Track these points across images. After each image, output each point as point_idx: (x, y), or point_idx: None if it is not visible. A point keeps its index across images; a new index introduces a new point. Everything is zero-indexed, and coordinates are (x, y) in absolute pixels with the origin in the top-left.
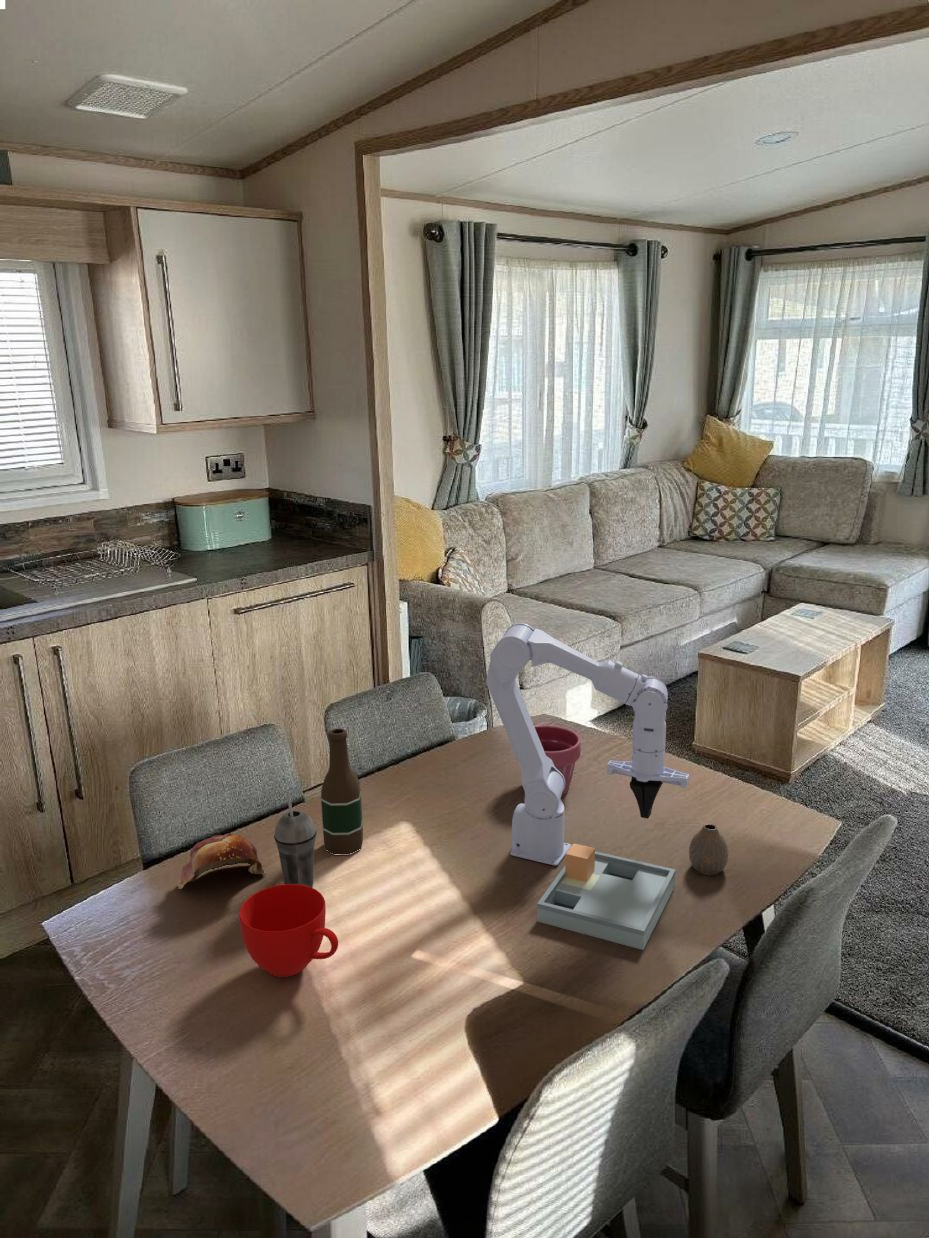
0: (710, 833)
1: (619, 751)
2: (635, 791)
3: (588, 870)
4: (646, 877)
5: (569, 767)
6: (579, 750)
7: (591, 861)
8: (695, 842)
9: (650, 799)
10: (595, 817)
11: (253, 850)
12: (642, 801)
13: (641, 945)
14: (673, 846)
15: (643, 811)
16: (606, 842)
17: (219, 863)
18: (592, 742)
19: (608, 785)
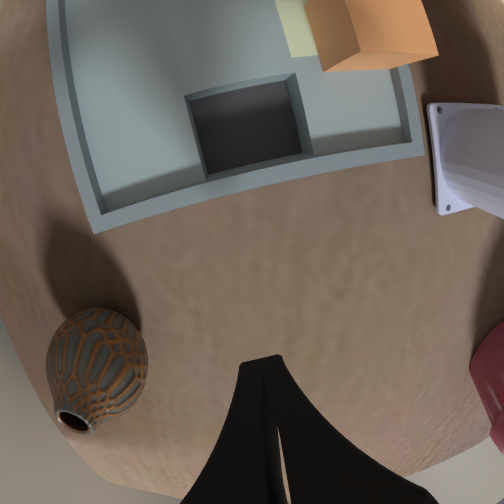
0: (57, 399)
1: (412, 465)
2: (362, 485)
3: (318, 4)
4: (154, 145)
5: (502, 397)
6: (500, 435)
7: (333, 23)
8: (95, 364)
9: (216, 472)
10: (420, 351)
11: None
12: (282, 435)
13: None
14: (230, 370)
15: (266, 382)
16: (375, 290)
17: None
18: (442, 453)
19: (416, 423)
